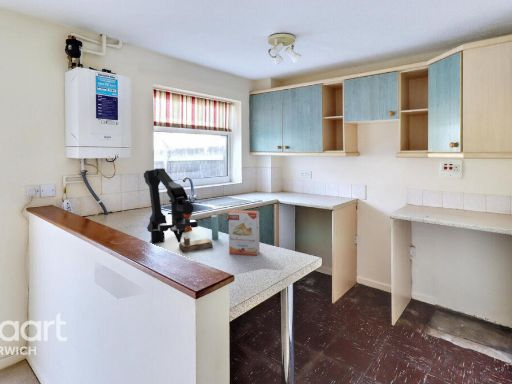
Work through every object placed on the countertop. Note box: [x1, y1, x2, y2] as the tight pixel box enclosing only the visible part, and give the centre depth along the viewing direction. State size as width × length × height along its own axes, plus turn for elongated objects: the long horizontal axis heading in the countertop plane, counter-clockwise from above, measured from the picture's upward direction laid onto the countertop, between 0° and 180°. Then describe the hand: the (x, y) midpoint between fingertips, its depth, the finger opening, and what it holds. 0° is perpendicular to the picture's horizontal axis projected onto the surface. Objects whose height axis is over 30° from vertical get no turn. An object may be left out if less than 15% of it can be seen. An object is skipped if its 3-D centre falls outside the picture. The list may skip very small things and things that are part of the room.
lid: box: [179, 236, 214, 247], centre depth 167 cm, size 15×7×4 cm, turn 116°
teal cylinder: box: [210, 215, 219, 241], centre depth 182 cm, size 4×4×13 cm
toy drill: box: [167, 212, 193, 233], centre depth 196 cm, size 5×19×15 cm, turn 144°
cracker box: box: [227, 209, 260, 256], centre depth 156 cm, size 14×6×21 cm, turn 76°
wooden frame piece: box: [178, 242, 214, 253], centre depth 167 cm, size 15×9×2 cm, turn 116°
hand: (178, 242), depth 163 cm, fingers closed
